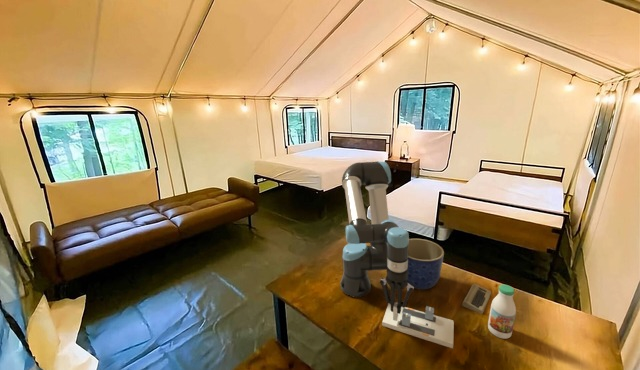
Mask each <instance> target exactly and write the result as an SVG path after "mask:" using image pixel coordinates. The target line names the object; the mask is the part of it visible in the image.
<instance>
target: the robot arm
mask: <svg viewBox="0 0 640 370" xmlns="http://www.w3.org/2000/svg"><path fill="white" fill-rule="evenodd" d="M391 182H392V172H391V169H390V166H389V164H388V163H387V162H386V161H378V160H377V161H366V162H365V161H364V162H363V161H362V162H354V163H352V164H350V165H349V166H348V167H347V168H346V169H345V170H344V173H343V175H342V178H341V184H342V188H343V189H344V193H345V199H346V200H345V201H346V202H345V203H346V207H347V209H346V210H347V216H348V223H349V225H346V226H345V241H346V243H347V244H346V245H344V247H343V249H342V260H343V261H342V263H343V264H342V267H343V274H342V276H341V278H340V279H341V280H340V283H339V284H340V286H341V287H340V286H339V287H340V290H341V289H342V290H341V292H342V291H343V292H344V293H346V294H347V295H346V294H345V295H346V296H348V295H350V296H349V297H351V296H354V297H353V298H361V297H360V296H362V297H365V296H367V295H368V294H369V293H370V292H371V290H372V284H371V281H370V278H369V275H368V272H369V271H386V276H385V277H381V278H380V281H379V283H380V285H381V288H382V290H383V295H384V299H385V303H386V304H388V303H390V304H391V311H392V312H393V320H395V321H397V319H398V313H399V314H400V312H401V307H403V308H405V307H406V305H407V303H408V300H409V298H410V295H411V293H413V292H414V289H415V288H414V286H413V285H410V284H409V283H408V280H407V268H408V246H409V239H410V237H409V236H410V235H409V234H410V233H409V231H408V230H407V229H405V228H403V227H400V226H399V225H398V224H397V223H396V222H395V221H394V220H392V219H390V218H389V210H388V209H389V208H388V202H387V200H388V199H387V189H388V187H389V184H390V183H391ZM362 185H363V186H365V189H366V190H367V191H368V199H369V210H370V212H369V213H370V221H371V224H369V223H368V221H367V216H366V210H365V205H364V200H363V195H362V190H361V187H362ZM367 244H369V245H367ZM389 287H390V291H389ZM405 288H406V292H405V296H404V298H403V300H402V297H403V290H404V289H405ZM343 292H342V293H343ZM396 292H397V299H396ZM344 293H343V294H344ZM366 294H367V295H366ZM364 295H365V296H364ZM395 301H397V302H395Z"/></svg>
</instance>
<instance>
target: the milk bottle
mask: <svg viewBox="0 0 640 370" xmlns="http://www.w3.org/2000/svg"><path fill="white" fill-rule="evenodd" d="M514 295H515V289H514V287H512V286H510V285H508V284H500V285H499V286H498V293H497V295H496V296H495V297H494V298H493V299H492V301H491V305H490V309H489V310H490V311H489V315H488V322H487V328H488V331H489V333H491V334H492V335H493V336H495V337H496V338H499V339H506V340H507V339H509V338H511V337H512V334H513V329H514V324H515V319H516V312H517V310H516V309H517V307H516V304H515V301H514Z"/></svg>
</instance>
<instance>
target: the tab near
mask: <svg viewBox="0 0 640 370" xmlns="http://www.w3.org/2000/svg"><path fill="white" fill-rule="evenodd" d="M410 323H411V314H408V313H405V312H403V315H402V325H405V326H408V327H410Z"/></svg>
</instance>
